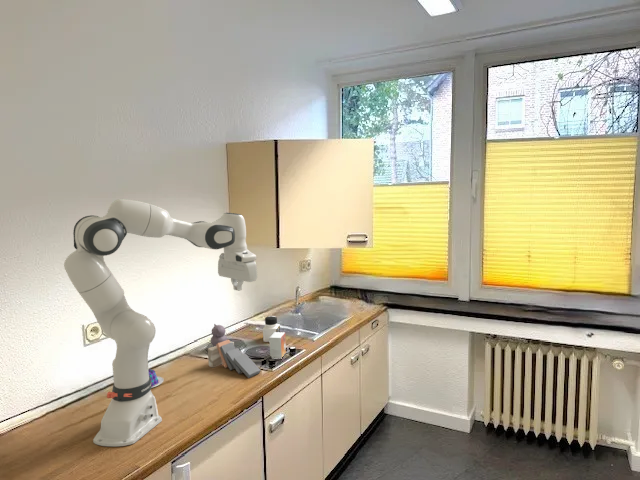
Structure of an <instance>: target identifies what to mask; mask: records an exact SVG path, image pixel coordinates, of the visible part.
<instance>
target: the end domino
mask: <svg viewBox="0 0 640 480" xmlns="http://www.w3.org/2000/svg"><path fill="white" fill-rule="evenodd" d="M230 341H231V340H230V339H227V340H226V341H223V342H220V343H218V344H216V346H217V348H218V351H219V354H220V356H221V359H222V362H223V364H222V365H223V367H224V369H226V368H229V367H228V365H227V362H226V360H225V358H224V356H223V354H222V352H221V350H220V347H221V346H223V345H226V344H228V343H230Z"/></svg>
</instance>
